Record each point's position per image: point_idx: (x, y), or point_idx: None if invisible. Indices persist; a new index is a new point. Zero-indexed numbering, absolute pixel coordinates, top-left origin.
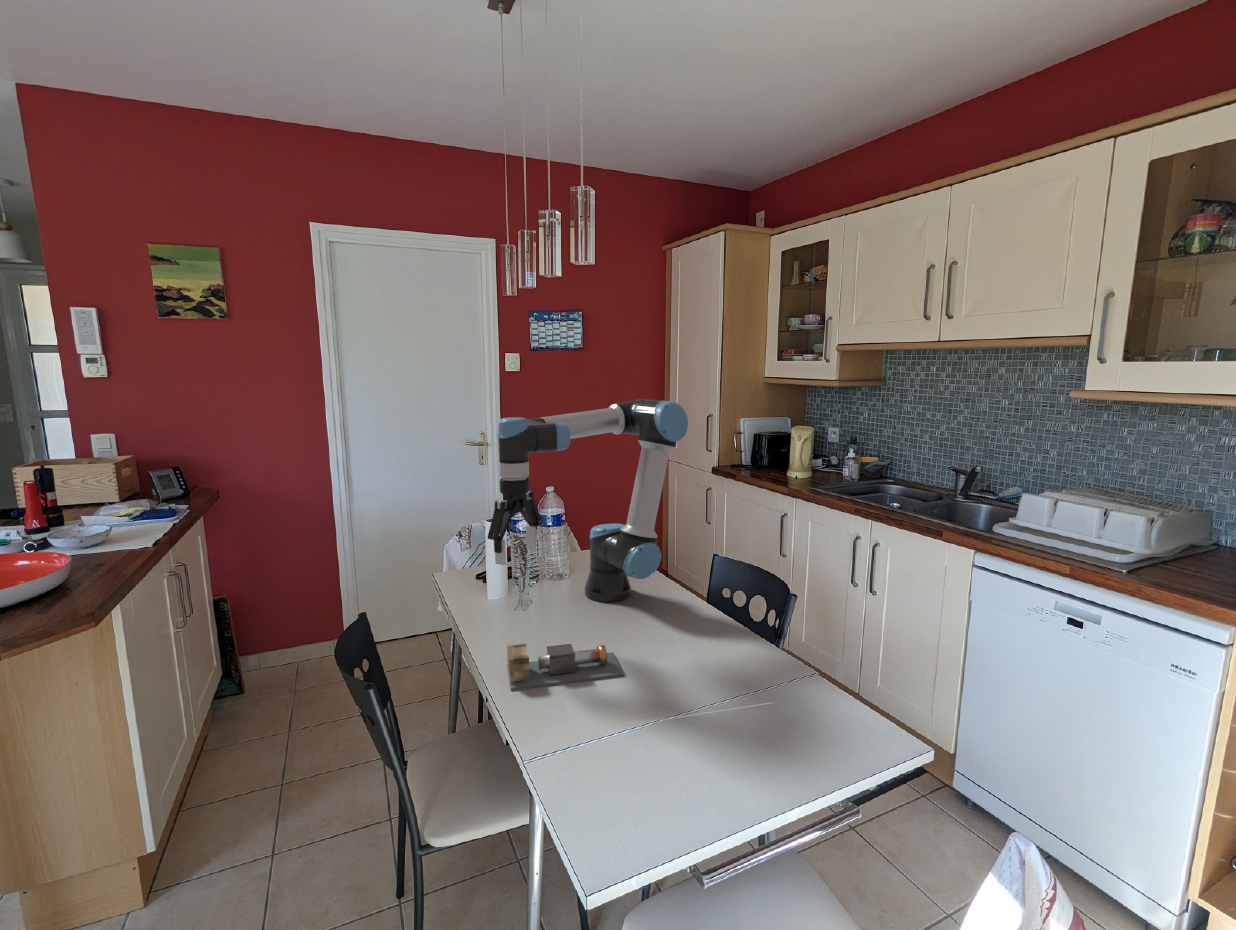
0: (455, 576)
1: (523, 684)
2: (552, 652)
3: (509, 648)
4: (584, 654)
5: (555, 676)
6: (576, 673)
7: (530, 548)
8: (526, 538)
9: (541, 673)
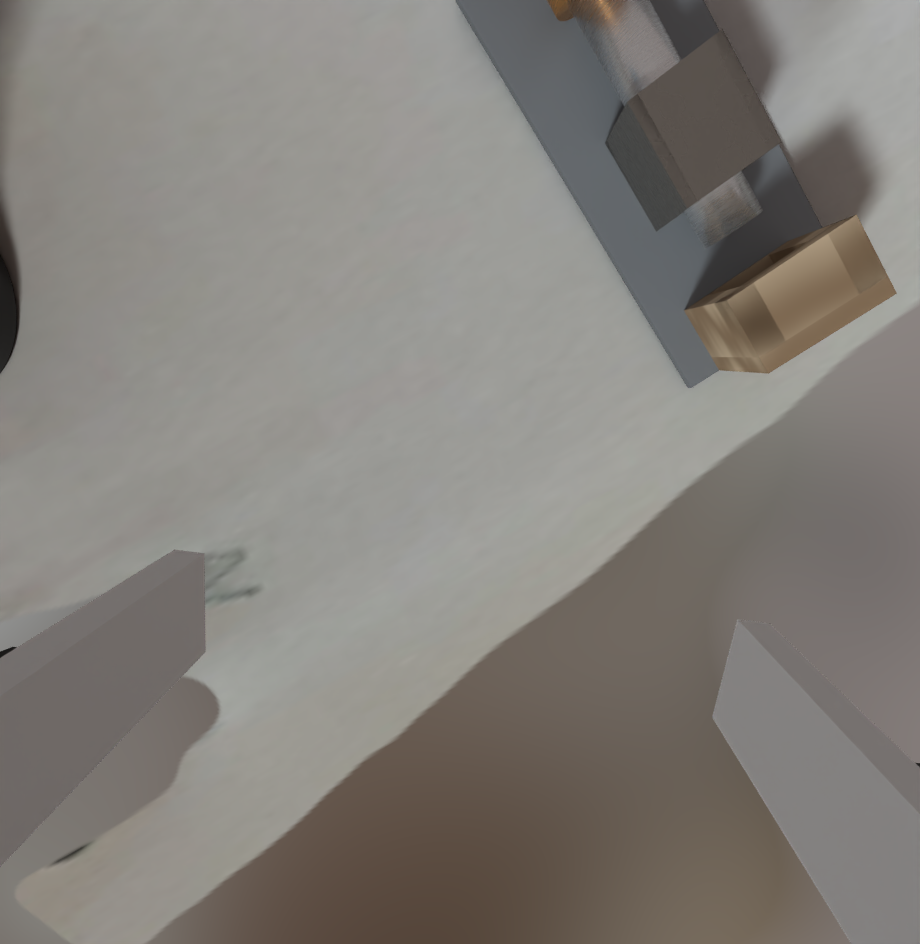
0: (106, 916)
1: None
2: (739, 150)
3: (790, 350)
4: (654, 18)
5: None
6: None
7: (199, 606)
8: (124, 729)
9: None
